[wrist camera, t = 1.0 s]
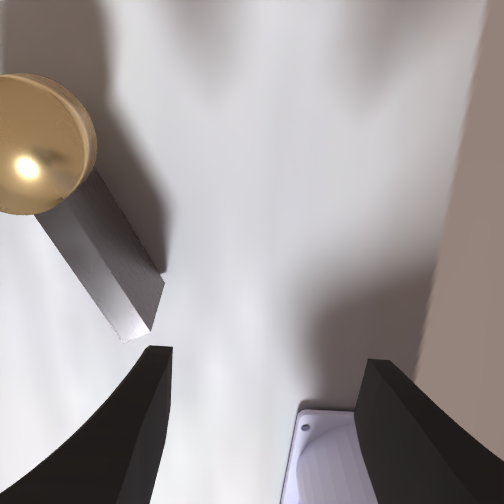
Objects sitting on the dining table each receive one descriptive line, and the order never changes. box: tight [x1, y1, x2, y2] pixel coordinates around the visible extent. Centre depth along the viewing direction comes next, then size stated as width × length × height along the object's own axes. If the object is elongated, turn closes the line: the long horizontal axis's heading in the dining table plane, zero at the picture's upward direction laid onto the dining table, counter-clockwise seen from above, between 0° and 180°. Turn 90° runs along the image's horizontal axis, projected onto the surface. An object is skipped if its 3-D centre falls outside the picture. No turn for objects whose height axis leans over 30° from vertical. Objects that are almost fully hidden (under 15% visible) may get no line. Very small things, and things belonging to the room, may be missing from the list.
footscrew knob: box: [0, 73, 165, 343], centre depth 17 cm, size 10×4×4 cm, turn 24°
